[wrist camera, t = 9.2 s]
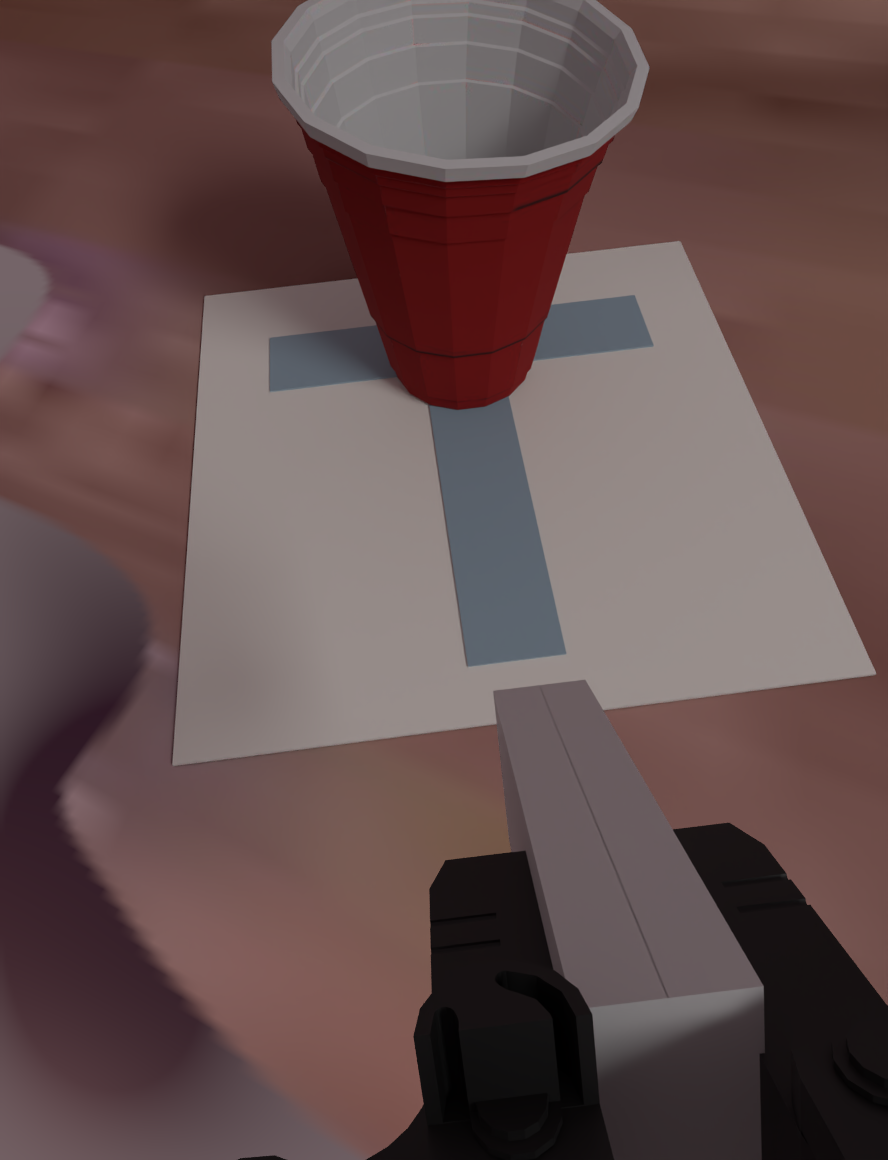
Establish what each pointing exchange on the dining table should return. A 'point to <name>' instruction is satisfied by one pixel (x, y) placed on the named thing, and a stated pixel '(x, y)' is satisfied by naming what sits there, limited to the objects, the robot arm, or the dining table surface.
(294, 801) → the dining table surface
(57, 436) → the dining table surface
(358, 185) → the plastic cup
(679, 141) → the dining table surface
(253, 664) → the placemat
